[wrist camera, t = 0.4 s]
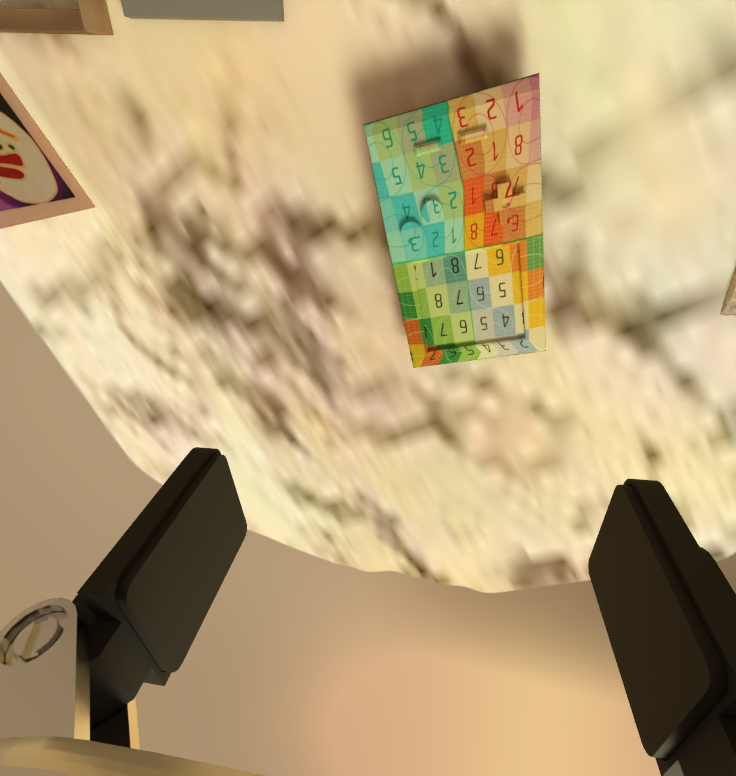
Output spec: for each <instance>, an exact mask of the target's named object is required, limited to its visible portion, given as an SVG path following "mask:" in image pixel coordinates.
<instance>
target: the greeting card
mask: <svg viewBox="0 0 736 776" xmlns="http://www.w3.org/2000/svg"><path fill="white" fill-rule="evenodd" d="M94 207H95V206H94V204H93V203H92V202H91V200H90V199H89V197H88V196H87V195H86V193H85V192H84V190H83V189H82V187H81V186H80V185H79V183H78V182H77V180H76V179H75V178H74V176H73V175H72V173H71V172H70V171H69V169H68V168H67V166H66V165H65V164H64V162H63V161H62V159H61V158H60V157H59V155H58V154H57V152H56V151H55V149H54V148H53V147H52V145H51V144H50V142H49V141H48V140H47V138H46V137H45V135H44V134H43V133H42V131H41V130H40V128H39V127H38V126H37V124H36V123H35V121H34V120H33V119H32V117H31V116H30V114H29V113H28V111H27V110H26V109H25V107H24V106H23V104H22V103H21V102H20V100H19V99H18V97H17V96H16V95H15V93H14V92H13V90H12V89H11V88H10V86H9V85H8V83H7V82H6V81H5V79H4V78H3V76H2V75H1V73H0V229H1V228H5V227H10V226H14V225H18V224H23V223H27V222H32V221H36V220H41V219H45V218H50V217H54V216H58V215H63V214H67V213H72V212H76V211H81V210H85V209H90V208H94Z"/></svg>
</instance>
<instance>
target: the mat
mask: <svg viewBox="0 0 736 776" xmlns="http://www.w3.org/2000/svg"><path fill="white" fill-rule="evenodd" d="M121 3H122V7H123V12H124V16H126V17H129V18H135V19H185V20H235V21H284V10H283V0H121Z"/></svg>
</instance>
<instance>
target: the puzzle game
mask: <svg viewBox="0 0 736 776" xmlns="http://www.w3.org/2000/svg"><path fill="white" fill-rule="evenodd" d="M364 130H365V135H366V140H367V145H368V149H369V154H370V159H371V164H372V169H373V174H374V179H375V183H376V188H377V193H378V198H379V203H380V208H381V213H382V218H383V222H384V227H385V232H386V237H387V242H388V247H389V252H390V256H391V261H392V266H393V271H394V276H395V281H396V286H397V290H398V295H399V300H400V305H401V310H402V315H403V320H404V325H405V329H406V334H407V339H408V344H409V349H410V354H411V359H412V363H413V368H416V367H424V366H431V365H439V364H447V363H455V362H463V361H470V360H478V359H486V358H494V357H502V356H509V355H517V354H525V353H533V352H541V351H546V343H545V300H544V258H543V215H542V173H541V130H540V88H539V73H538V74H534V75H531V76H527V77H524V78H520V79H517V80H514V81H510V82H507V83H503V84H500V85H497V86H493V87H490V88H486V89H483V90H480V91H476V92H473V93H469V94H466V95H462V96H459V97H456V98H452V99H449V100H445V101H442V102H439V103H435V104H432V105H428V106H425V107H422V108H418V109H415V110H411V111H408V112H404V113H401V114H398V115H394V116H391V117H387V118H384V119H381V120H377V121H374V122H370V123H367V124H364Z"/></svg>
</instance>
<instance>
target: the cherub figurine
mask: <svg viewBox="0 0 736 776" xmlns="http://www.w3.org/2000/svg"><path fill="white" fill-rule="evenodd" d="M720 315H736V270H735V273H734V276H733V279H732V282H731V285H730V287H729V290H728V293H727V296H726V299H725V302H724V305H723V308H722V311H721V314H720Z"/></svg>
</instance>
